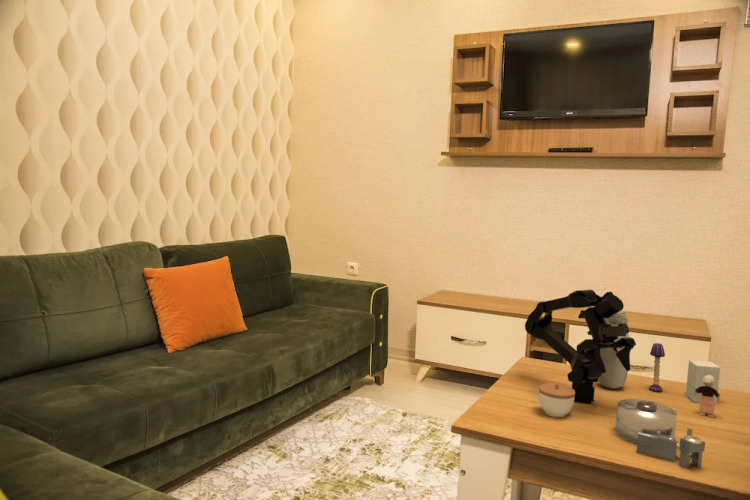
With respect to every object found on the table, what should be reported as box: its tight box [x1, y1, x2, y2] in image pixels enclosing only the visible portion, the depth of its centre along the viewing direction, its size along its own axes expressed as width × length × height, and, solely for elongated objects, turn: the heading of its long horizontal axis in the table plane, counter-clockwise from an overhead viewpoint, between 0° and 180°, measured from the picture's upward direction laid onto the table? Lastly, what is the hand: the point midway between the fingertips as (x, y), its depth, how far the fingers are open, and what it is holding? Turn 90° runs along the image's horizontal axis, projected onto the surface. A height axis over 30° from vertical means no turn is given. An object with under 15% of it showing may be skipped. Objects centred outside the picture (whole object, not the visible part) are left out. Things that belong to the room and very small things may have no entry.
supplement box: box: [685, 359, 721, 405], centre depth 186 cm, size 7×7×13 cm
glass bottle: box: [598, 310, 630, 390], centre depth 195 cm, size 10×10×28 cm
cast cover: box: [615, 398, 678, 445], centre depth 156 cm, size 15×15×9 cm
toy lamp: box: [648, 342, 666, 393], centre depth 194 cm, size 5×5×17 cm
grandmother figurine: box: [693, 375, 723, 418], centre depth 173 cm, size 8×4×13 cm, turn 65°
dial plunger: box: [668, 438, 694, 458], centre depth 142 cm, size 7×2×2 cm, turn 14°
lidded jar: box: [538, 382, 575, 418], centre depth 170 cm, size 11×11×9 cm
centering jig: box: [636, 428, 706, 469], centre depth 142 cm, size 12×17×7 cm
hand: (616, 371), depth 168 cm, fingers open, 9 cm apart
